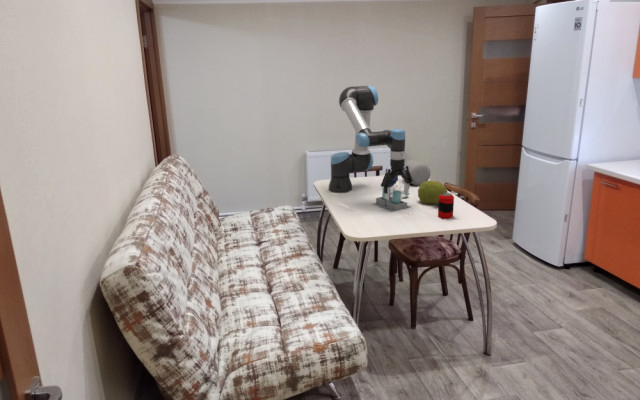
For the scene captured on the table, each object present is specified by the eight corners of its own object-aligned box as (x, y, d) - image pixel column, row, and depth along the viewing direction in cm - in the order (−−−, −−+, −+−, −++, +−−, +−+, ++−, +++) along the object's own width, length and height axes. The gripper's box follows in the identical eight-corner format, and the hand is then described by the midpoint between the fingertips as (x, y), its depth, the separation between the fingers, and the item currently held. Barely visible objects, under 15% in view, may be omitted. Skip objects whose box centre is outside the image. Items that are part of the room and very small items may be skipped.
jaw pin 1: (380, 203, 265) (380, 187, 262) (386, 202, 267) (386, 186, 264) (385, 205, 261) (385, 189, 259) (391, 203, 263) (392, 188, 261)
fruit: (442, 199, 272) (452, 179, 262) (440, 215, 262) (451, 195, 252) (415, 190, 273) (424, 170, 263) (413, 205, 262) (422, 185, 252)
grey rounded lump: (400, 180, 298) (390, 166, 321) (413, 195, 304) (402, 181, 326) (423, 160, 295) (411, 148, 317) (436, 176, 300) (424, 163, 323)
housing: (371, 205, 265) (371, 198, 264) (390, 201, 272) (390, 194, 270) (391, 213, 250) (391, 206, 249) (411, 208, 257) (412, 201, 256)
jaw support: (409, 196, 268) (397, 184, 267) (398, 207, 271) (386, 195, 270) (410, 191, 279) (398, 179, 279) (399, 201, 283) (387, 190, 282)
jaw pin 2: (390, 207, 257) (391, 191, 255) (396, 205, 260) (397, 190, 257) (395, 209, 254) (396, 193, 251) (402, 207, 256) (402, 191, 253)
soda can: (441, 213, 248) (442, 191, 244) (455, 216, 243) (456, 193, 240) (435, 217, 242) (436, 194, 239) (449, 219, 238) (450, 197, 234)
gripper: (383, 162, 240) (382, 202, 246) (420, 156, 252) (418, 194, 258) (374, 160, 246) (374, 199, 252) (410, 154, 258) (409, 191, 264)
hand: (396, 196), depth 255 cm, fingers open, 13 cm apart
